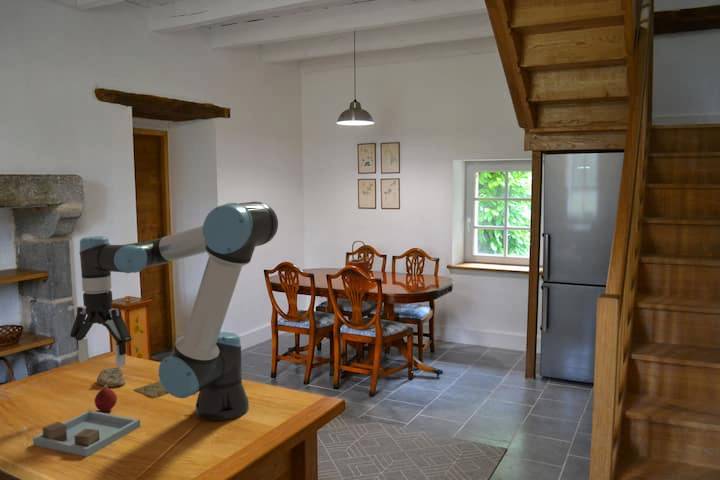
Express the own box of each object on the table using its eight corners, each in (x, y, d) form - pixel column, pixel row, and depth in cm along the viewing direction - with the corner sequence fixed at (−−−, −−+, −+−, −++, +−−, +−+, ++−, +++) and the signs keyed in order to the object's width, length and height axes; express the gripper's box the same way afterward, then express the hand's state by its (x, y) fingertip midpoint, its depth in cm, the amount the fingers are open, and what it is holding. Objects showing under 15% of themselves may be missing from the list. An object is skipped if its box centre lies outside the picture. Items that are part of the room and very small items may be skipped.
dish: (140, 428, 155) (139, 419, 155) (87, 459, 139) (86, 449, 139) (90, 418, 162) (89, 410, 162) (33, 446, 145) (32, 437, 145)
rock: (93, 382, 191) (97, 386, 182) (97, 364, 192) (101, 367, 183) (121, 384, 195) (126, 388, 187) (124, 367, 196) (129, 369, 188)
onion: (108, 417, 163) (107, 390, 162) (91, 415, 164) (89, 388, 163) (121, 409, 168) (119, 383, 168) (103, 407, 170) (102, 381, 169)
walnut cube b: (67, 440, 148) (66, 425, 147) (51, 446, 144) (50, 430, 144) (59, 435, 150) (58, 421, 150) (43, 441, 147) (42, 426, 146)
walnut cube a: (100, 445, 145) (99, 429, 144) (89, 452, 141) (88, 437, 140) (85, 443, 146) (85, 428, 145) (75, 451, 142) (74, 435, 141)
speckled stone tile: (165, 380, 193) (165, 377, 193) (186, 388, 186) (186, 385, 185) (132, 391, 184) (132, 388, 184) (153, 400, 176) (153, 397, 176)
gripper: (141, 290, 161) (146, 363, 164) (74, 286, 170) (79, 355, 173) (122, 296, 154) (127, 372, 157) (53, 291, 163) (58, 363, 166)
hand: (102, 363), depth 165 cm, fingers open, 13 cm apart
